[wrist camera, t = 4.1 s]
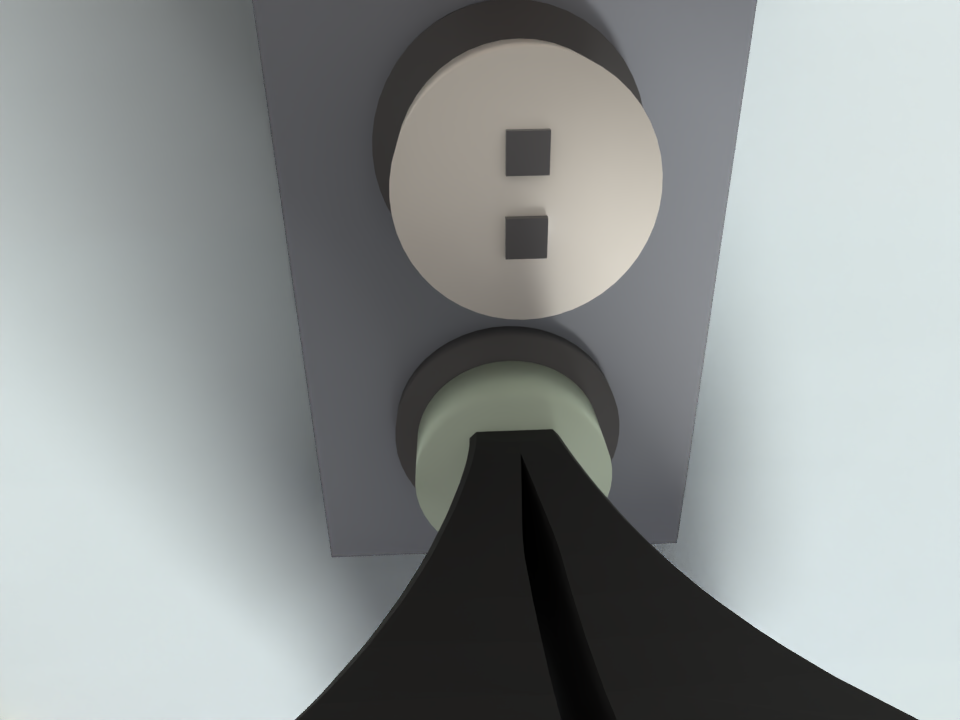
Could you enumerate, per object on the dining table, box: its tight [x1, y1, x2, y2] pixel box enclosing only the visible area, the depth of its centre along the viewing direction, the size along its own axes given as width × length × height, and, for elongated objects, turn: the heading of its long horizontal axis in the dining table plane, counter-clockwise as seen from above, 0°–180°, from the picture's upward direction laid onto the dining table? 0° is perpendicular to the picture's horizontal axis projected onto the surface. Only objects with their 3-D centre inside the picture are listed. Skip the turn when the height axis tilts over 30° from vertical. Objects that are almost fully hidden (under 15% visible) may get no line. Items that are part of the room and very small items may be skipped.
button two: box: [389, 38, 663, 320], centre depth 9 cm, size 3×3×1 cm
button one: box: [415, 361, 612, 531], centre depth 12 cm, size 3×3×1 cm
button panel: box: [252, 0, 757, 557], centre depth 11 cm, size 16×7×2 cm, turn 1°
